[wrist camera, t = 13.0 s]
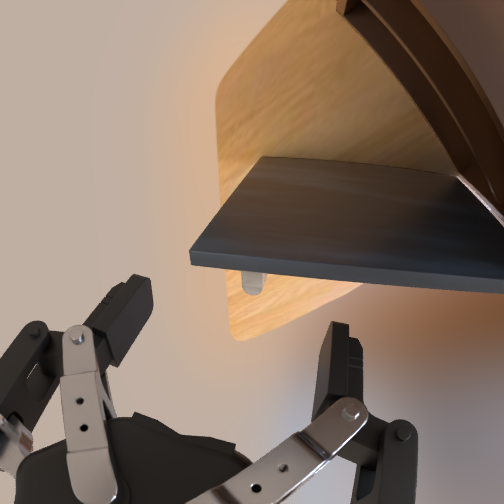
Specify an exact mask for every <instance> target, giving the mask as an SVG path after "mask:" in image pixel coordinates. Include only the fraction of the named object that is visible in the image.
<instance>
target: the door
mask: <svg viewBox="0 0 504 504" xmlns="http://www.w3.org/2000/svg"><path fill="white" fill-rule="evenodd" d="M189 253H190V260H191V265H195V266H203V267H213V268H221V269H230V270H239V271H241V275H242V288H243V290H244V291H245V292H246V293H248V294H250V295H258V294H260V293H261V292H262V290H263V287H264V284H265V280H266V277H267V274H277V275H287V276H297V277H307V278H317V279H328V280H338V281H349V282H360V283H371V284H383V285H395V286H405V287H406V286H407V287H418V288H430V289H443V290H456V291H470V292H483V293H498V294H504V227H503V226H502V225H501V224H500V222H499V221H498V220H497V219H496V218H495V217H494V216H493V214H492V213H490V211H489V210H488V209H487V208H486V207H485V206H484V205H483V204H482V203H481V201H480V200H479V199H478V198H477V197H476V196H475V195H474V194H473V193H472V192H471V191H470V190H469V189H468V188H467V187H466V186H465V185H464V184H463V183H462V182H461V181H460V180H459V179H458V178H457V177H455V176H450V175H444V174H437V173H431V172H425V171H418V170H411V169H403V168H396V167H388V166H379V165H370V164H361V163H351V162H340V161H328V160H314V159H299V158H281V157H261V158H260V159H259V160H258V162H257V163H256V164H255V165H254V167H253V168H252V169H251V170H250V172H249V173H248V174H247V175H246V177H245V178H244V179H243V180H242V182H241V183H240V184H239V186H238V187H237V188H236V189H235V191H234V192H233V193H232V194H231V196H230V197H229V198H228V200H227V201H226V202H225V204H224V205H223V206H222V207H221V209H220V210H219V211H218V213H217V214H216V215H215V217H214V218H213V219H212V221H211V222H210V223H209V225H208V226H207V227H206V229H205V230H204V231H203V233H202V234H201V235H200V236H199V238H198V239H197V240H196V242H195V243H194V244H193V246H192V247H191V249H190V250H189Z"/></svg>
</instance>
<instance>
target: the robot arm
mask: <svg viewBox="0 0 504 504" xmlns="http://www.w3.org/2000/svg"><path fill="white" fill-rule="evenodd" d="M152 310H153V296H152V288H151V280H150V278H147V277H143V276H140V275H136V274H133V275H132V276H131V277H130V278H129V279H128V281H127V282H126V283H123V282H121V283H119V284H118V285H116V286H114V287H113V288H112V289H111V290H110V291H109V292H108V293H107V295H106V297H104V299H103V300H102V301H101V303H99V305H98V306H97V307H96V308H95V310H94V311H93V312H92V313H91V314H90V316H89V317H88V318H87V320H86V321H85V322H84V323H83V324H82V325H75V326H72V327H70V328H69V329H67V330H66V331H65V332H59V331H49V329H48V327H47V325H46V324H45V323H44V322H42V321H32V322H30V323H28V324H27V325H26V326H25V327H24V328H23V329H22V330H21V332H20V333H19V334H18V336H17V337H16V338H15V339H14V341H13V342H12V344H11V345H10V346H9V348H8V349H7V350H6V352H5V353H4V354H3V356H2V357H1V358H0V471H3V472H6V473H8V474H9V475H11V476H12V477H14V478H15V479H16V495H15V501H14V504H280V503H281V502H283V501H284V500H286V499H287V498H288V497H289V496H291V495H292V494H293V493H294V492H296V491H297V490H298V489H299V488H300V487H301V486H303V485H304V484H305V483H306V482H307V481H308V480H309V479H311V478H312V477H313V476H314V475H315V474H316V473H318V472H319V471H320V470H321V469H322V468H323V467H324V466H325V465H326V464H327V463H329V462H330V461H331V460H332V459H333V458H334V457H335V456H336V455H338V456H340V457H342V458H345V459H347V460H349V461H352V462H354V463H356V464H357V467H356V474H355V480H354V486H353V492H352V498H351V503H350V504H415V496H416V483H417V463H418V462H417V461H418V433H417V430H416V428H415V427H414V426H413V425H412V424H411V423H410V422H408V421H406V420H400V419H399V420H394V421H392V422H391V423H388V422H386V421H383V420H381V419H379V418H376V417H375V416H373V415H371V414H370V413H369V412H368V410H367V408H366V406H365V405H364V402H363V348H362V346H361V344H360V342H359V340H358V339H357V338H351V337H349V324H344V323H339V322H334V321H331V323H330V325H329V328H328V331H327V333H326V336H325V338H324V341H323V344H322V347H321V350H320V355H319V362H318V372H317V381H316V389H315V397H314V404H313V412H312V419H311V422H312V423H311V424H310V425H309V426H307V427H306V428H305V429H304V430H302V431H301V432H296V433H294V434H293V435H291V436H290V437H289V438H287V439H286V440H285V441H283V442H282V443H281V444H279V445H278V446H277V447H276V448H274V449H273V450H271V451H270V452H269V453H267V454H266V455H265V456H263V457H262V458H260V459H259V460H257V461H256V462H255V463H252V462H251V461H250V460H249V459H248V458H247V457H246V456H244V455H243V454H241V453H240V452H238V451H236V450H235V446H236V444H234V443H230V442H226V441H223V440H219V439H215V438H212V437H203V436H189V435H181V434H178V433H177V432H175V431H174V430H172V429H171V428H169V427H167V426H166V425H164V424H163V423H161V422H159V421H158V420H156V419H153V418H150V417H147V416H145V415H142V414H140V413H137V412H134V414H133V416H132V417H118V418H117V415H116V412H115V409H114V406H113V402H112V397H111V392H110V386H109V381H108V376H107V371H106V369H107V368H108V366H109V364H110V365H112V366H115V367H118V366H119V365H120V363H121V362H122V360H123V358H124V357H125V355H126V354H127V352H128V350H129V349H130V347H131V345H132V344H133V342H134V341H135V339H136V338H137V336H138V334H139V333H140V331H141V330H142V328H143V326H144V325H145V323H146V322H147V320H148V319H149V317H150V315H151V313H152ZM36 364H37V365H36ZM35 365H36V366H35ZM34 366H35V368H34ZM33 368H34V369H33ZM32 369H33V371H32ZM31 371H32V372H31ZM30 372H31V374H30ZM29 374H30V375H29ZM28 376H29V377H28ZM27 377H28V378H27ZM59 383H60V391H61V403H62V412H63V421H64V429H65V436H66V439H64V440H62V441H59V442H57V443H55V444H52V445H50V446H47V447H45V448H42V449H41V450H38V451H35V452H33V453H31V452H32V451H33V437H32V434H31V433H32V431H33V429H34V427H35V426H36V424H37V422H38V420H39V418H40V416H41V415H42V413H43V411H44V409H45V407H46V406H47V404H48V402H49V400H50V399H51V397H52V395H53V393H54V392H55V390H56V388H57V387H58V385H59Z"/></svg>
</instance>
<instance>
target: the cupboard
mask: <svg viewBox="0 0 504 504" xmlns="http://www.w3.org/2000/svg"><path fill="white" fill-rule="evenodd" d="M336 11H337V12H338V13H339V14H340V15H341V16H342V17H343V18H344V19H345V20H346V21H347V22H348V23H349V25H350V26H351V27H352V28H353V29H354V30H355V31H356V32H357V33H358V34H359V35H360V36H361V37H362V39H363V40H364V41H365V42H366V43H367V44H368V45H369V46H370V48H371V49H372V50H373V51H374V52H375V53H376V55H377V56H378V57H379V58H380V59H381V61H382V62H383V63H384V64H385V65H386V67H387V68H388V69H389V70H390V72H391V73H392V74H393V76H394V77H395V78H396V79H397V81H398V82H399V83H400V85H401V86H402V87H403V89H404V90H405V91H406V93H407V94H408V95H409V97H410V98H411V100H412V101H413V102H414V104H415V105H416V107H417V108H418V110H419V111H420V113H421V114H422V116H423V117H424V118H425V120H426V122H427V123H428V125H429V126H430V128H431V129H432V131H433V132H434V134H435V136H436V137H437V139H438V140H439V142H440V144H441V145H442V147H443V149H444V150H445V152H446V154H447V155H448V157H449V159H450V161H451V162H452V164H453V166H454V168H455V170H456V171H457V173H458V175H459V177H460V178H461V179H462V180H463V181H464V182H465V183H466V184H467V185H469V186H470V187H471V188H472V189H473V190H474V191H475V192H476V193H477V194H478V195H479V196H480V197H481V198H482V199H483V200H484V202H485V203H486V204H487V205H488V206H489V207H490V208H491V209H492V210H493V211H494V212H495V213H496V214H497V215H498V216H499V218H500V219H501V220H502V221H503V222H504V0H337V7H336Z"/></svg>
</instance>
